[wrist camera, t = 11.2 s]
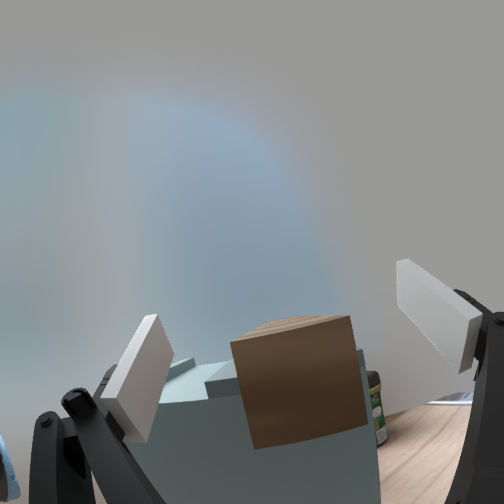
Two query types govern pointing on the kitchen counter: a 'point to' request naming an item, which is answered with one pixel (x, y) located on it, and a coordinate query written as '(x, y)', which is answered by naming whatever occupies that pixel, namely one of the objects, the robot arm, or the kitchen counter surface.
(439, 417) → the kitchen counter surface
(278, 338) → the walnut slat
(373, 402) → the coffee jar
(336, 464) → the grey-blue storage bin
